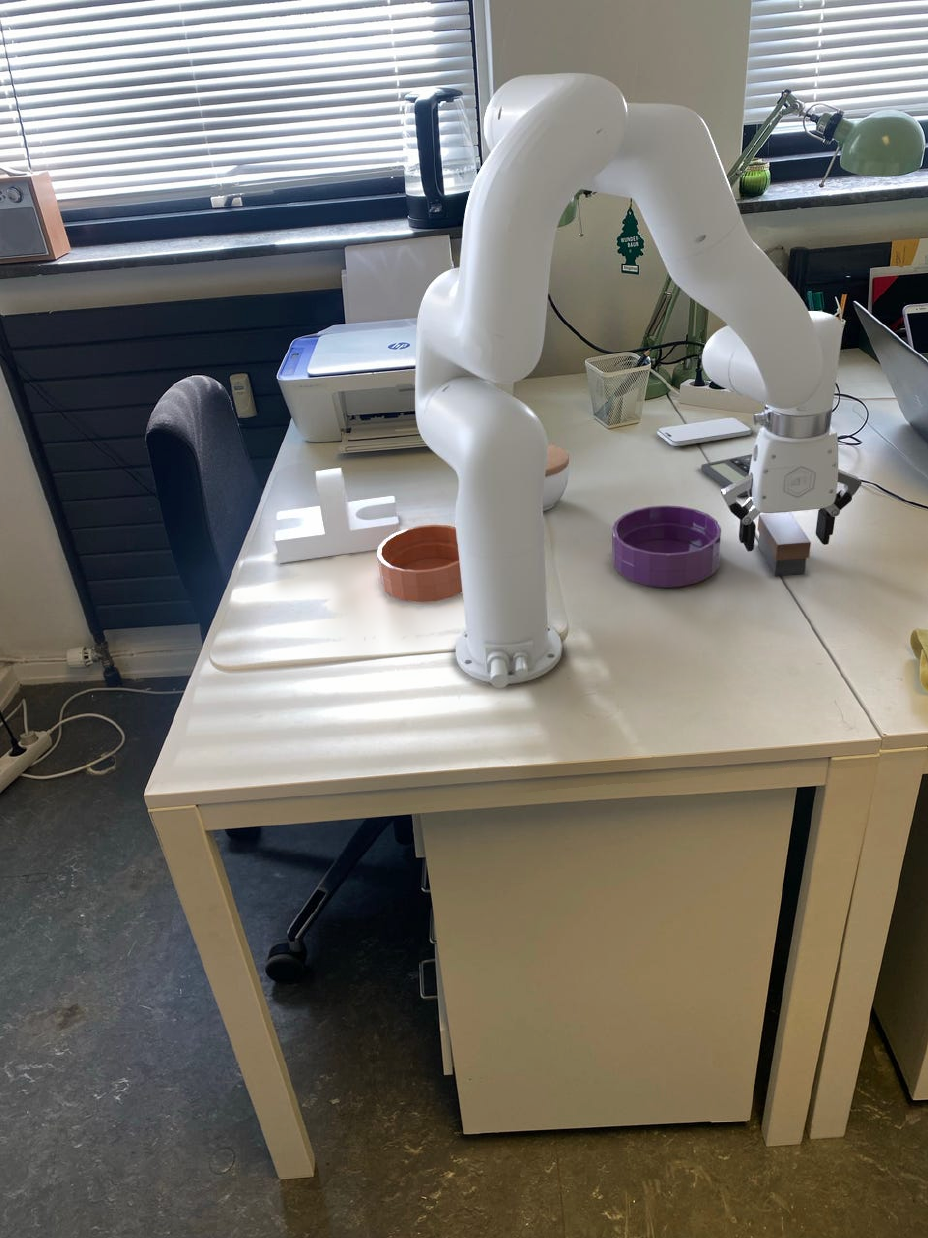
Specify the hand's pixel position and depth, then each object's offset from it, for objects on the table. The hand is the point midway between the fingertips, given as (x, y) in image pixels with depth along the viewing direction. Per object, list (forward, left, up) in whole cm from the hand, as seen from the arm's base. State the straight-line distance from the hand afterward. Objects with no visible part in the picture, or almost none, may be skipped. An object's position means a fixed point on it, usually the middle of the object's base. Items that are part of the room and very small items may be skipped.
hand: (784, 543), depth 119 cm
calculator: (+27, -5, -3) cm, 27 cm away
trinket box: (+23, +31, -3) cm, 39 cm away
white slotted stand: (+16, +61, -3) cm, 63 cm away
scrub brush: (0, 0, -2) cm, 2 cm away
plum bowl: (+1, +15, -2) cm, 16 cm away
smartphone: (+45, 0, -3) cm, 45 cm away
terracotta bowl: (+2, +47, -3) cm, 47 cm away
